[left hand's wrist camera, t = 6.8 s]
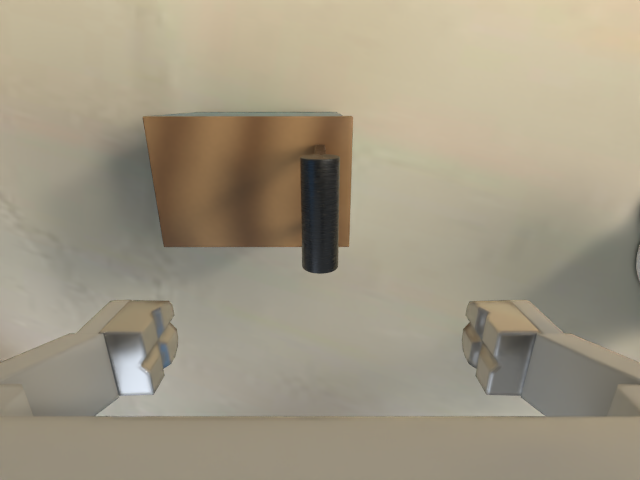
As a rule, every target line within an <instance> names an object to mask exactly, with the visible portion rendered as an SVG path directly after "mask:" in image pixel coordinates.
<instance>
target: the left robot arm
mask: <svg viewBox="0 0 640 480" xmlns="http://www.w3.org/2000/svg"><path fill="white" fill-rule="evenodd" d="M636 270H637V276H638V279H639V281H640V245H639V249H638V253H637V258H636ZM173 317H174V310H173V306H172V304H171V303H170V302H169V301H148V300H133V301H132V300H114V301H110V302H109V303H108V304H107V305H106V306H105V307H104V308H102V309H101V310H100V311H99V312H98V313H97V314H96V315H95V316H94V317H93V318H92V319H91V320H90V321H89V322H87V323H86V324H85V325H84V326H83V327H82V328H81V329H80V330H79V331H78V332H77V333H69V334H67V335H65V336H62V337H60V338H58V339H55V340H53V341H50V342H48V343H46V344H43V345H41V346H39V347H36V348H34V349H31V350H29V351H27V352H24V353H22V354H20V355H17V356H15V357H12V358H10V359H8V360H5V361H3V362H0V480H640V363H639V362H637V361H635V360H632V359H630V358H627V357H625V356H623V355H620V354H618V353H616V352H613V351H611V350H608V349H606V348H604V347H601V346H599V345H597V344H594V343H592V342H589V341H587V340H585V339H582V338H580V337H578V336H575V335H573V334H571V333H563V332H562V331H561V330H560V329H559V328H558V327H557V326H556V325H555V324H554V323H553V322H552V321H550V320H549V319H548V318H547V317H546V316H545V315H544V314H543V313H542V312H541V311H540V310H539V309H538V308H537V307H536V306H534V305H533V304H532V303H531V302H530V301H527V300H501V301H471V302H469V304H468V306H467V310H466V317H467V318H468V320H469V321H470V323H469V324H468V325H467V326H466V327H465V328H464V329H463V335H462V346H463V352H464V355H465V358H466V360H467V361H468V363H469V364H470V365H471V366H473V367H475V368H476V369H477V370H476V377H477V379H478V381H479V383H480V384H481V386H482V388H483V389H484V391H485V393H486V395H517V396H521V398H523V399H524V400H525V401H527V402H528V403H529V404H531V405H532V406H533V407H534V408H536V409H537V410H538V411H540V412H541V413H542V414H544V415H545V416H95V415H96V414H98V413H99V412H100V411H102V410H103V409H104V408H106V407H107V406H108V405H110V404H111V403H112V402H114V401H115V400H116V399H117V398H119V396H123V395H154V393H155V391H156V389H157V388H158V386H159V384H160V383H161V381H162V379H163V377H164V370H163V369H164V368H165V367H167V366H169V365H170V364H171V363H172V361H173V360H174V358H175V355H176V351H177V347H178V334H177V329H176V328H175V327H174V326H173V325H172V324H171V323H170V321H171V320H172V318H173Z"/></svg>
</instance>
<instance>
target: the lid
mask: <svg viewBox="0 0 640 480" xmlns="http://www.w3.org/2000/svg"><path fill="white" fill-rule="evenodd" d="M143 122H144V128H145V134H146V141H147V147H148V153H149V159H150V165H151V171H152V177H153V183H154V189H155V195H156V201H157V207H158V213H159V220H160V226H161V232H162V238H163V244H164V247H302V266H303V268H304V269H305V270H306V271H308V272H311V273H329V272H332V271H334V270H336V269H337V267H338V247H349V233H350V199H351V166H352V133H353V117H352V116H144V117H143Z"/></svg>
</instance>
